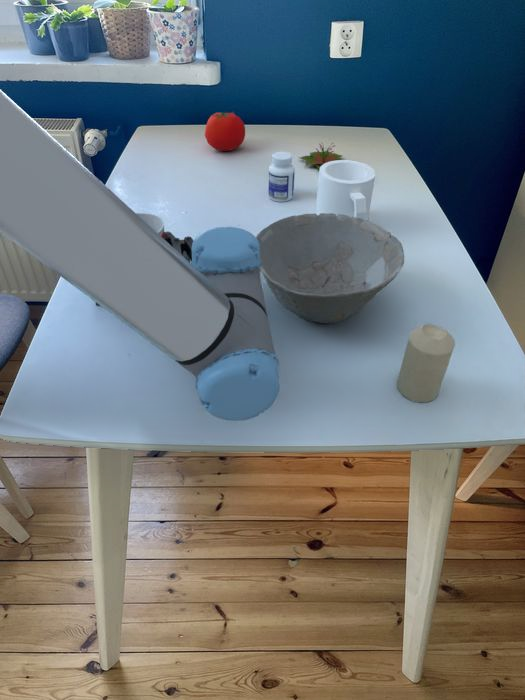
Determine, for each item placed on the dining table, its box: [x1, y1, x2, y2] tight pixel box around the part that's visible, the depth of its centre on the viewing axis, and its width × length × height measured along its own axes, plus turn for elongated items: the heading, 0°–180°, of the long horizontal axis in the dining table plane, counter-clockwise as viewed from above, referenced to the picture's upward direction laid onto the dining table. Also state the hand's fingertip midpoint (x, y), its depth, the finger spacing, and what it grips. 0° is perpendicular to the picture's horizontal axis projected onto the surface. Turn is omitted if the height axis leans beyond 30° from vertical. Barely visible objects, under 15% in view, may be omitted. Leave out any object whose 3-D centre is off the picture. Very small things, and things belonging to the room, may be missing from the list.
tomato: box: [204, 111, 246, 152], centre depth 129 cm, size 9×10×8 cm
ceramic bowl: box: [255, 213, 405, 325], centre depth 82 cm, size 22×23×10 cm
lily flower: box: [298, 142, 345, 170], centre depth 125 cm, size 12×12×5 cm
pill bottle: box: [268, 151, 296, 203], centre depth 110 cm, size 5×5×9 cm
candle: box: [396, 323, 456, 403], centre depth 69 cm, size 6×6×10 cm
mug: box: [314, 159, 376, 221], centre depth 100 cm, size 14×10×11 cm
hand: (128, 235), depth 88 cm, fingers closed on cup, 8 cm apart
